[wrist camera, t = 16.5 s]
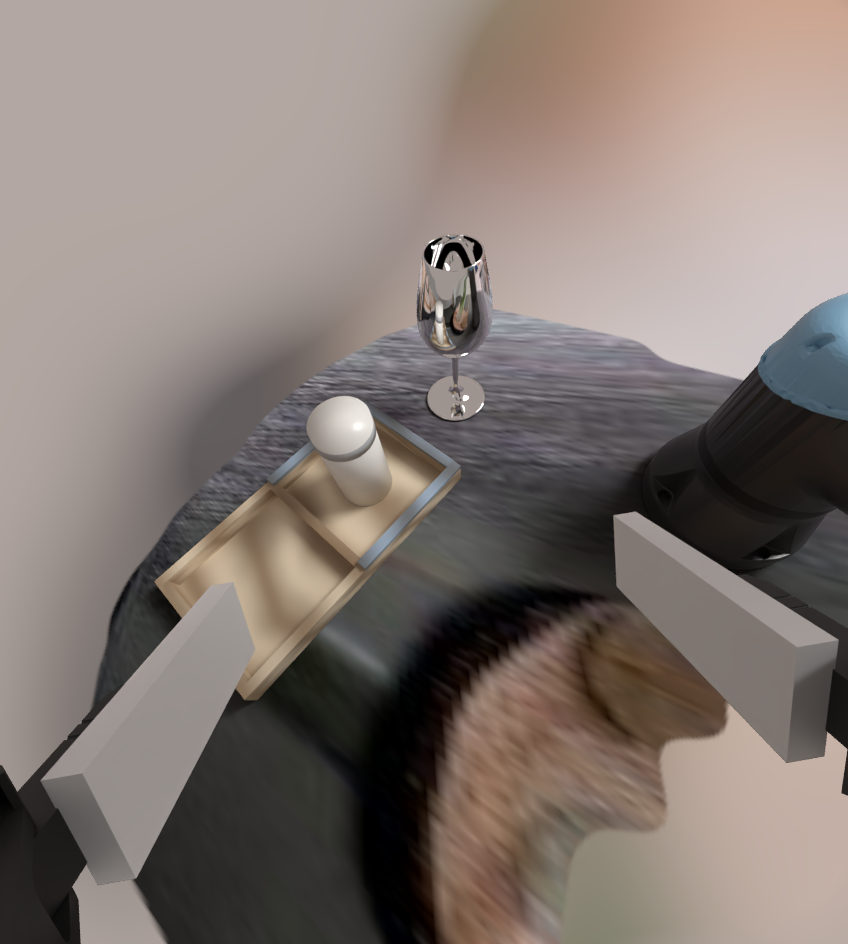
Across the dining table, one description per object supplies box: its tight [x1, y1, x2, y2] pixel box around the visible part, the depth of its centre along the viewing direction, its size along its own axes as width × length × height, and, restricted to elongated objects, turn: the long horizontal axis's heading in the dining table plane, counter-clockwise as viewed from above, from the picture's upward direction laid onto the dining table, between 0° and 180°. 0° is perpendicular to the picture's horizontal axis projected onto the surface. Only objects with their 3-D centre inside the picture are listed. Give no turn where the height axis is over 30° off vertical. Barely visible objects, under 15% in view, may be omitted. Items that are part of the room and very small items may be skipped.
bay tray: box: [154, 397, 461, 700], centre depth 44 cm, size 30×16×3 cm, turn 139°
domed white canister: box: [306, 396, 392, 506], centre depth 42 cm, size 6×6×12 cm
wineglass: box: [417, 234, 492, 421], centre depth 44 cm, size 8×8×20 cm
